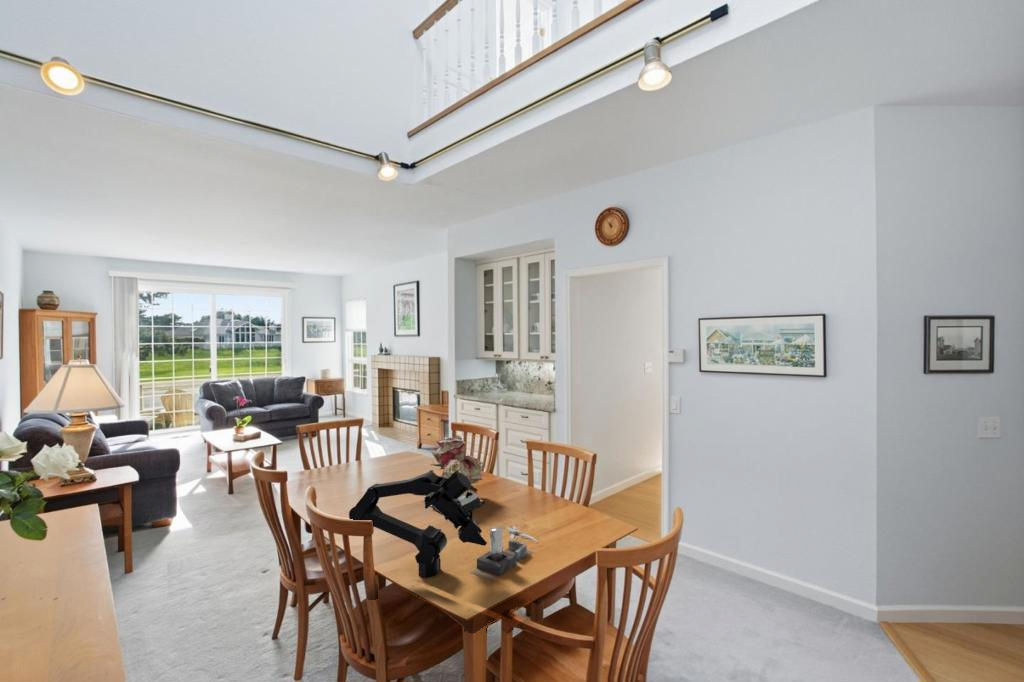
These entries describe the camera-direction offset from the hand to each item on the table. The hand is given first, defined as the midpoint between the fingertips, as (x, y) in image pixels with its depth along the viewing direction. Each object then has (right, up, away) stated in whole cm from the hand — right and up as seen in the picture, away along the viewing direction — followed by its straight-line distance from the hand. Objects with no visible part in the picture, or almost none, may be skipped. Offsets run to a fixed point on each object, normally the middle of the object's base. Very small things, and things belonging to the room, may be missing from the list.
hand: (483, 538), depth 149 cm
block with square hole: (+6, -11, +4) cm, 14 cm away
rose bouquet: (-16, -11, +65) cm, 68 cm away
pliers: (+11, -12, +27) cm, 32 cm away
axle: (+4, -10, +2) cm, 11 cm away
